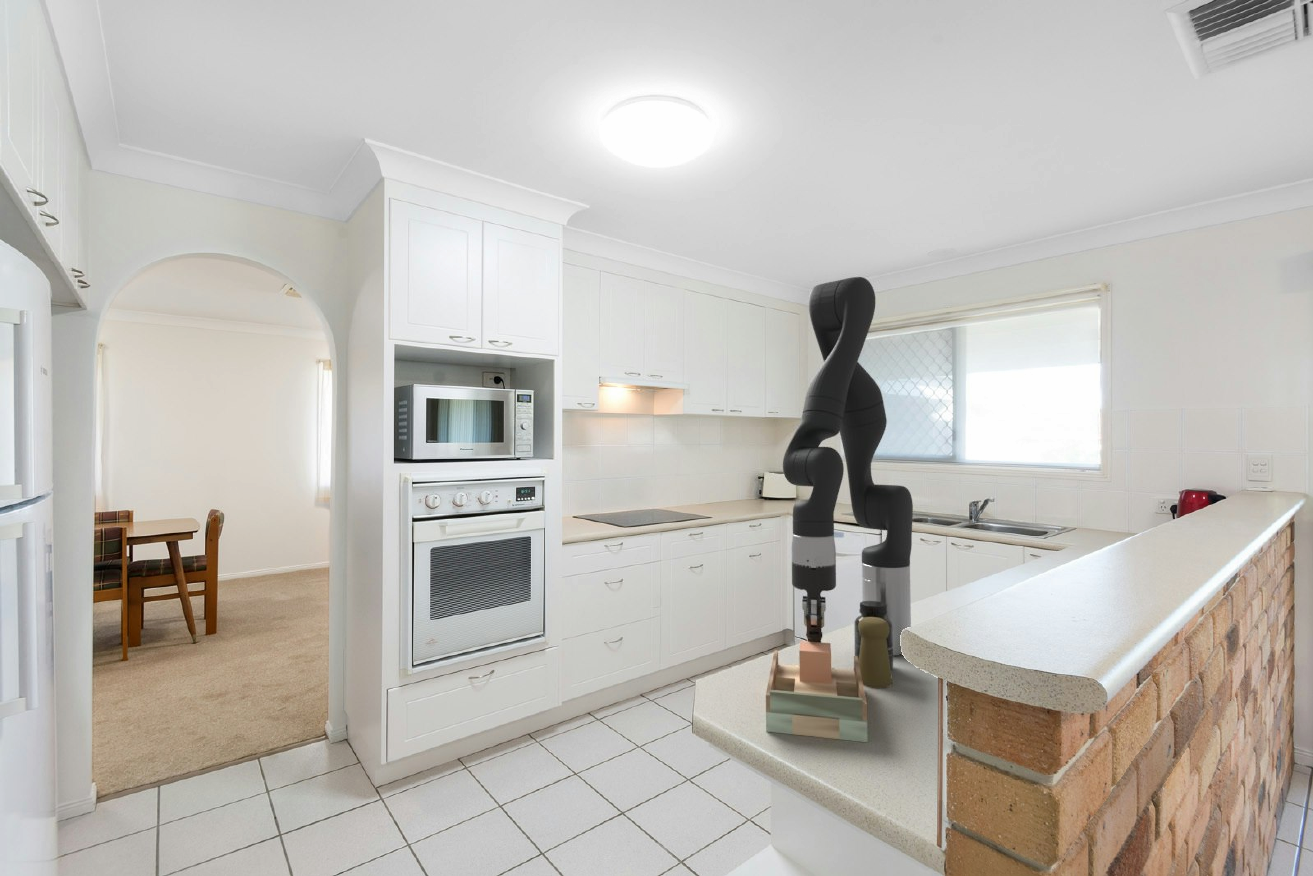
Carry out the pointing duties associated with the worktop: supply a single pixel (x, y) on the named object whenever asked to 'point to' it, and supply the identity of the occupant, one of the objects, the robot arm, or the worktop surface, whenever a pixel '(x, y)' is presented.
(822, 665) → the block
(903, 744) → the worktop surface
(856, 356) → the robot arm
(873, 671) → the cork
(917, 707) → the worktop surface
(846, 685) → the wooden organizer box
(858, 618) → the supplement bottle
